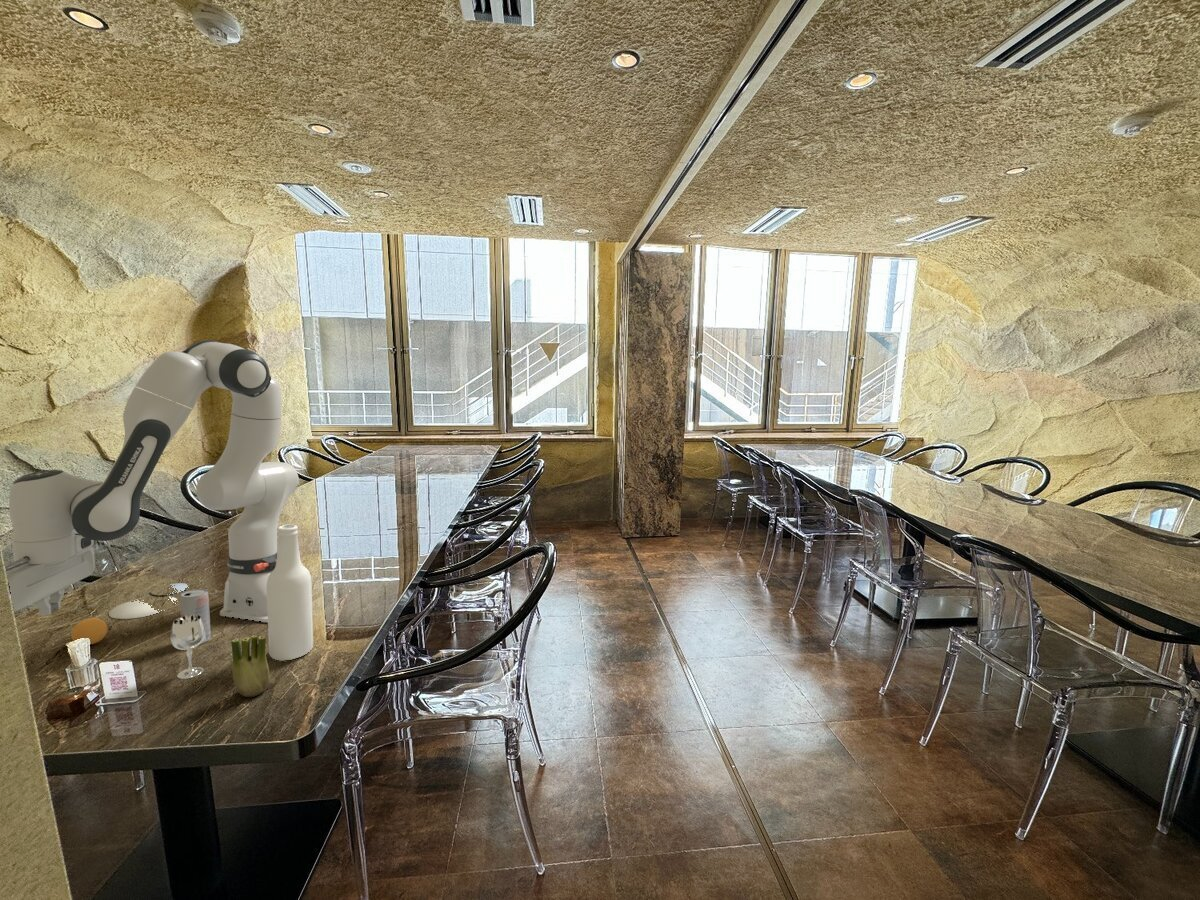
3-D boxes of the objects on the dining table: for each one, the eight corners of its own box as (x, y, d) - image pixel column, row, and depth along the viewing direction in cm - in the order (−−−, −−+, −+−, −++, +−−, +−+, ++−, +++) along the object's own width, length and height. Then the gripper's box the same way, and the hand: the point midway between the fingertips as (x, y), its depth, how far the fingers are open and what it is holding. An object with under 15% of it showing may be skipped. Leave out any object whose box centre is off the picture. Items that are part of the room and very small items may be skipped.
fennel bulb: (230, 697, 105) (227, 640, 103) (250, 683, 109) (247, 629, 108) (256, 701, 104) (253, 644, 102) (275, 687, 109) (272, 632, 107)
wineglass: (213, 666, 115) (211, 613, 114) (194, 681, 110) (191, 626, 108) (186, 665, 115) (183, 613, 113) (166, 680, 109) (162, 625, 108)
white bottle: (264, 651, 122) (259, 525, 118) (306, 639, 128) (303, 519, 124) (275, 667, 116) (269, 534, 112) (318, 653, 122) (315, 527, 118)
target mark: (189, 602, 145) (189, 602, 145) (128, 623, 132) (128, 622, 132) (158, 593, 150) (158, 592, 150) (96, 612, 137) (96, 611, 137)
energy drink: (187, 637, 127) (184, 589, 125) (214, 634, 129) (211, 587, 127) (178, 648, 122) (175, 598, 120) (206, 644, 124) (203, 596, 122)
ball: (114, 641, 124) (112, 616, 123) (81, 652, 118) (79, 627, 117) (99, 635, 126) (97, 611, 125) (66, 646, 120) (64, 621, 120)
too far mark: (196, 587, 155) (196, 586, 155) (162, 598, 147) (162, 597, 147) (177, 581, 159) (177, 581, 159) (142, 592, 150) (142, 591, 150)
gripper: (17, 567, 99) (23, 637, 101) (99, 534, 119) (103, 592, 121) (-23, 567, 98) (-16, 637, 100) (67, 534, 118) (71, 593, 120)
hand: (50, 612), depth 110 cm, fingers closed
